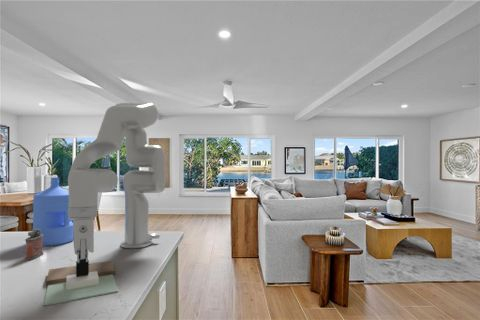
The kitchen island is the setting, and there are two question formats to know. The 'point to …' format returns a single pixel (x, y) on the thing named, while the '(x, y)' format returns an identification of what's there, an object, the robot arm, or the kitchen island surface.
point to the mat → (79, 291)
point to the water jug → (53, 215)
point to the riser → (62, 273)
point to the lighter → (34, 245)
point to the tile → (82, 280)
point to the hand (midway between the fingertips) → (82, 274)
